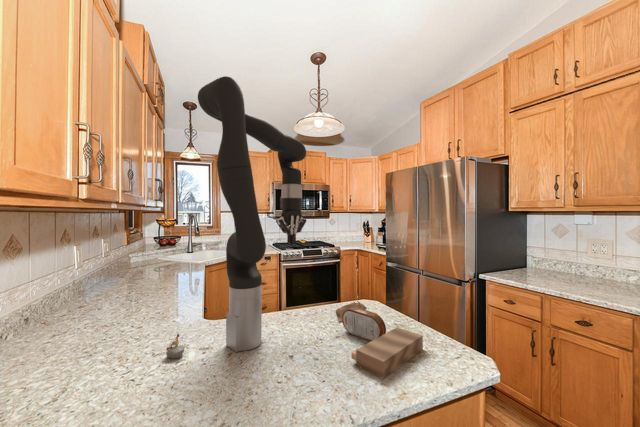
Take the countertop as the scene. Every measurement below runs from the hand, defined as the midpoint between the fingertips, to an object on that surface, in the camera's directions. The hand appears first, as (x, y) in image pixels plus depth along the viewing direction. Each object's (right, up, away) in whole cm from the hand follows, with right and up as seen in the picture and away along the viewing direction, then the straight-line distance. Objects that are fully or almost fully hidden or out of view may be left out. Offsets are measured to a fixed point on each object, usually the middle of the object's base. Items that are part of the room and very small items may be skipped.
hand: (291, 244), depth 101 cm
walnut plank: (+29, -27, -27) cm, 48 cm away
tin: (+24, -27, -15) cm, 39 cm away
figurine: (-28, -27, -27) cm, 48 cm away
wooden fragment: (+23, -28, +8) cm, 37 cm away
